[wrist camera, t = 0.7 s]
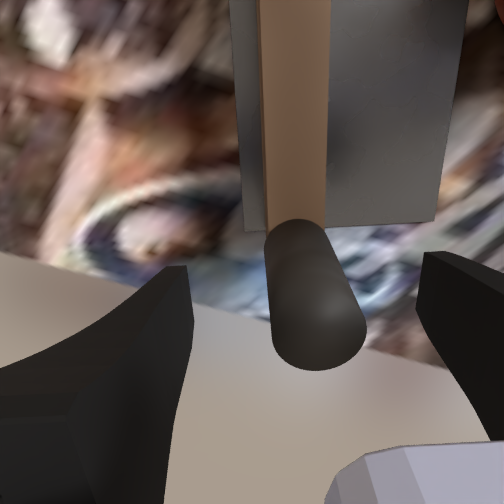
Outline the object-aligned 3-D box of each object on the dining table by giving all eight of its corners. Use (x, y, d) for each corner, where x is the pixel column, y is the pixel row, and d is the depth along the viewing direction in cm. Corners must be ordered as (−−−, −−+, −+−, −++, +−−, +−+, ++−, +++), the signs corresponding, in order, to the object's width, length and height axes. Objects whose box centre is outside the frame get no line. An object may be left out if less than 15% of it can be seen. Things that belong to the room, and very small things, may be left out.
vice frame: (825, -287, 12) (1123, -465, 8) (632, 208, 19) (739, 249, 15) (212, -243, 12) (195, -395, 8) (244, 229, 19) (244, 276, 15)
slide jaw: (318, -159, 13) (446, -553, 5) (312, 234, 19) (363, 368, 10) (243, -154, 13) (237, -538, 5) (261, 237, 19) (273, 373, 11)
